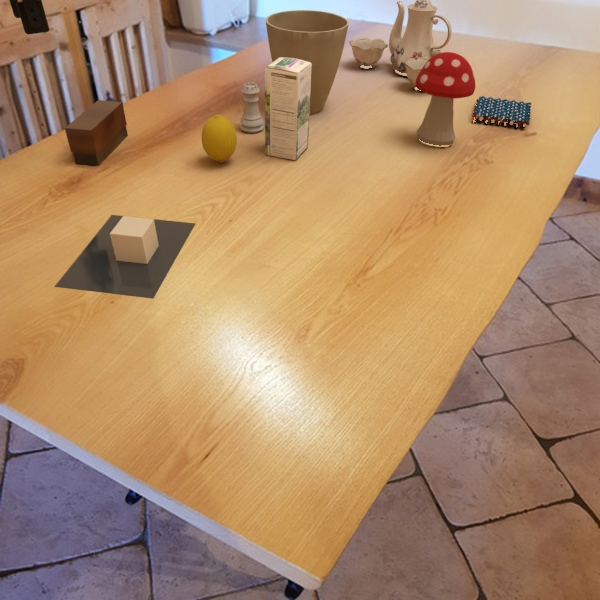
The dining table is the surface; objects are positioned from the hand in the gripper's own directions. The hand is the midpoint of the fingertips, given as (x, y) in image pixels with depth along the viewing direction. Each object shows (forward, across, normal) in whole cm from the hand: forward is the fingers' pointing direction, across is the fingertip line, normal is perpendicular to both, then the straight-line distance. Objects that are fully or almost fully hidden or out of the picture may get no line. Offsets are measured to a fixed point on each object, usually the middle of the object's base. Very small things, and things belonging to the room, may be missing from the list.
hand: (31, 24), depth 79 cm
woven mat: (+21, +23, +77) cm, 83 cm away
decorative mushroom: (+21, +26, +58) cm, 67 cm away
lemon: (+20, +16, +21) cm, 33 cm away
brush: (+20, +2, +5) cm, 20 cm away
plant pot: (+20, +2, +45) cm, 50 cm away
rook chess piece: (+20, +6, +31) cm, 38 cm away
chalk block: (+19, +36, +1) cm, 40 cm away
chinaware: (+21, -5, +75) cm, 78 cm away
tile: (+20, +35, 0) cm, 40 cm away
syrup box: (+20, +17, +33) cm, 42 cm away
